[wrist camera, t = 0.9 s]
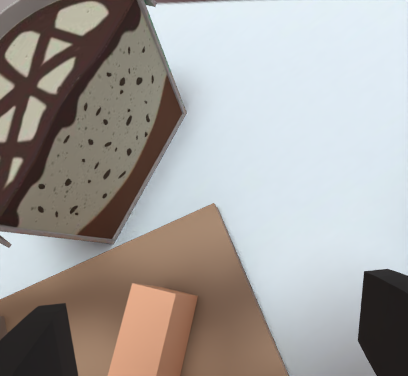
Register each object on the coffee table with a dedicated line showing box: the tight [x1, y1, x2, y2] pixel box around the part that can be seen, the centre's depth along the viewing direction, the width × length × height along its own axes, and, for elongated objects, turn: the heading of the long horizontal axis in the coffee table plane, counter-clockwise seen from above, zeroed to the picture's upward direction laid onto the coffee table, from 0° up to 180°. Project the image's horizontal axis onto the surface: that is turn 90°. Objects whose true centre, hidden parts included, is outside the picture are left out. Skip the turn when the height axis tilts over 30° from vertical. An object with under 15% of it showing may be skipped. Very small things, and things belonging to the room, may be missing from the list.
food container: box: [0, 0, 186, 248], centre depth 20 cm, size 12×6×10 cm, turn 152°
